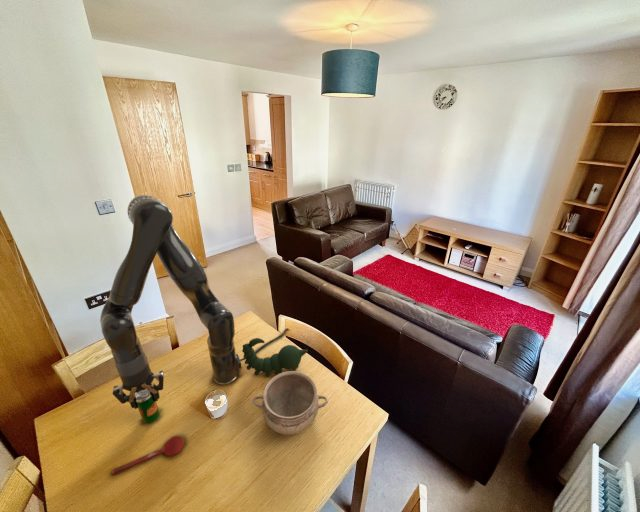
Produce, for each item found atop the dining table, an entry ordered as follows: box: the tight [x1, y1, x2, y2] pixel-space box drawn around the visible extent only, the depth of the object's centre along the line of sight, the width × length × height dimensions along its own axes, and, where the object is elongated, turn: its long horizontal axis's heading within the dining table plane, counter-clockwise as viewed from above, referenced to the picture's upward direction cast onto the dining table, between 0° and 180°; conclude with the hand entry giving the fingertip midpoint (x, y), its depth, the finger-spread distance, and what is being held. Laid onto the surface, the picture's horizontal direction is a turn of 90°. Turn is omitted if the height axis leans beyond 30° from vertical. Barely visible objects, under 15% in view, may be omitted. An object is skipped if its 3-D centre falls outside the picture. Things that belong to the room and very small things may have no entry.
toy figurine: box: [241, 337, 309, 378], centre depth 108 cm, size 9×19×25 cm
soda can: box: [135, 389, 161, 424], centre depth 90 cm, size 5×5×12 cm
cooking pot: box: [252, 370, 329, 436], centre depth 92 cm, size 25×19×12 cm
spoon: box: [111, 435, 185, 476], centre depth 81 cm, size 18×6×1 cm, turn 119°
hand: (146, 402), depth 90 cm, fingers closed on soda can, 5 cm apart
